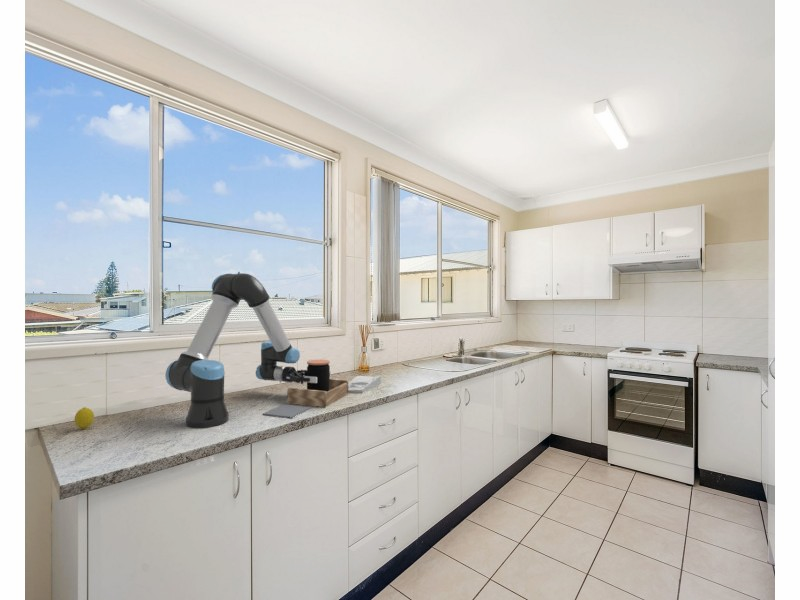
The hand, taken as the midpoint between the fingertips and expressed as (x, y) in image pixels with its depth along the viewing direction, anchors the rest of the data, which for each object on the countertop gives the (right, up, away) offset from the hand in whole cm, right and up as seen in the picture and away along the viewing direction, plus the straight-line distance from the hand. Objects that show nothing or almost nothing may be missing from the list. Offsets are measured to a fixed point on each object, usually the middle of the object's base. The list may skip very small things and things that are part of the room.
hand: (323, 377), depth 185 cm
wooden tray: (-3, -10, +1) cm, 11 cm away
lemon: (-79, -11, -44) cm, 91 cm away
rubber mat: (-12, -11, -21) cm, 26 cm away
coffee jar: (-3, -11, +1) cm, 11 cm away
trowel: (+16, -11, +21) cm, 29 cm away
